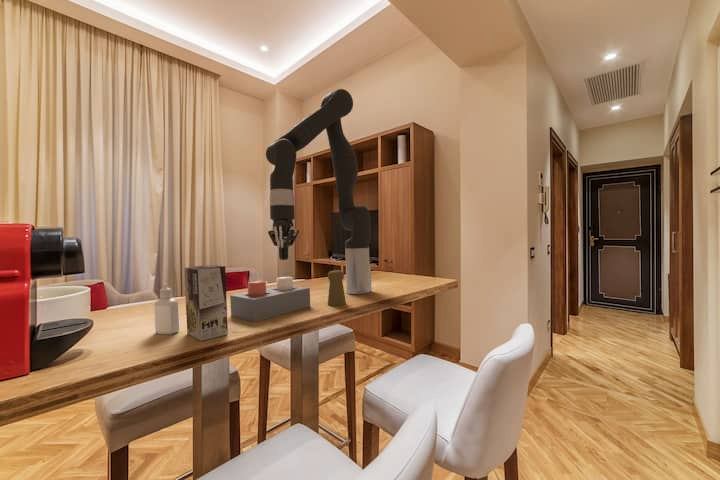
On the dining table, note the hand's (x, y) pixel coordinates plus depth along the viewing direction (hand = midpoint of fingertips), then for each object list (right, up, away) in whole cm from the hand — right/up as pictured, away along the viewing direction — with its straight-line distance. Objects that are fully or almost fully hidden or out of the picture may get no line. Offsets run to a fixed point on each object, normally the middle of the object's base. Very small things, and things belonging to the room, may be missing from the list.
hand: (283, 259), depth 96 cm
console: (-3, -16, -4) cm, 16 cm away
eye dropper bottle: (-23, -17, -22) cm, 36 cm away
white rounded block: (0, -12, 0) cm, 12 cm away
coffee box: (-12, -16, -24) cm, 32 cm away
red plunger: (-6, -12, -8) cm, 15 cm away
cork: (+17, -15, +3) cm, 23 cm away
